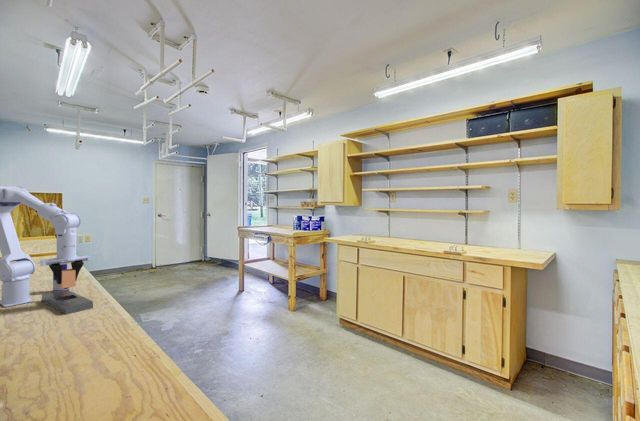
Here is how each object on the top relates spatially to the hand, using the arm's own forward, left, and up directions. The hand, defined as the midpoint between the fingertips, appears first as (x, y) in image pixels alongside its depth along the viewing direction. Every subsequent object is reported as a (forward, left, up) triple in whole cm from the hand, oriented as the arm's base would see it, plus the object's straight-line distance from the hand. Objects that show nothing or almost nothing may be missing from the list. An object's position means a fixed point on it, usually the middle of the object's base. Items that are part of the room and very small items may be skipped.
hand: (66, 282), depth 114 cm
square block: (0, 0, -2) cm, 2 cm away
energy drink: (-22, +5, -9) cm, 24 cm away
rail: (0, 0, -8) cm, 8 cm away
